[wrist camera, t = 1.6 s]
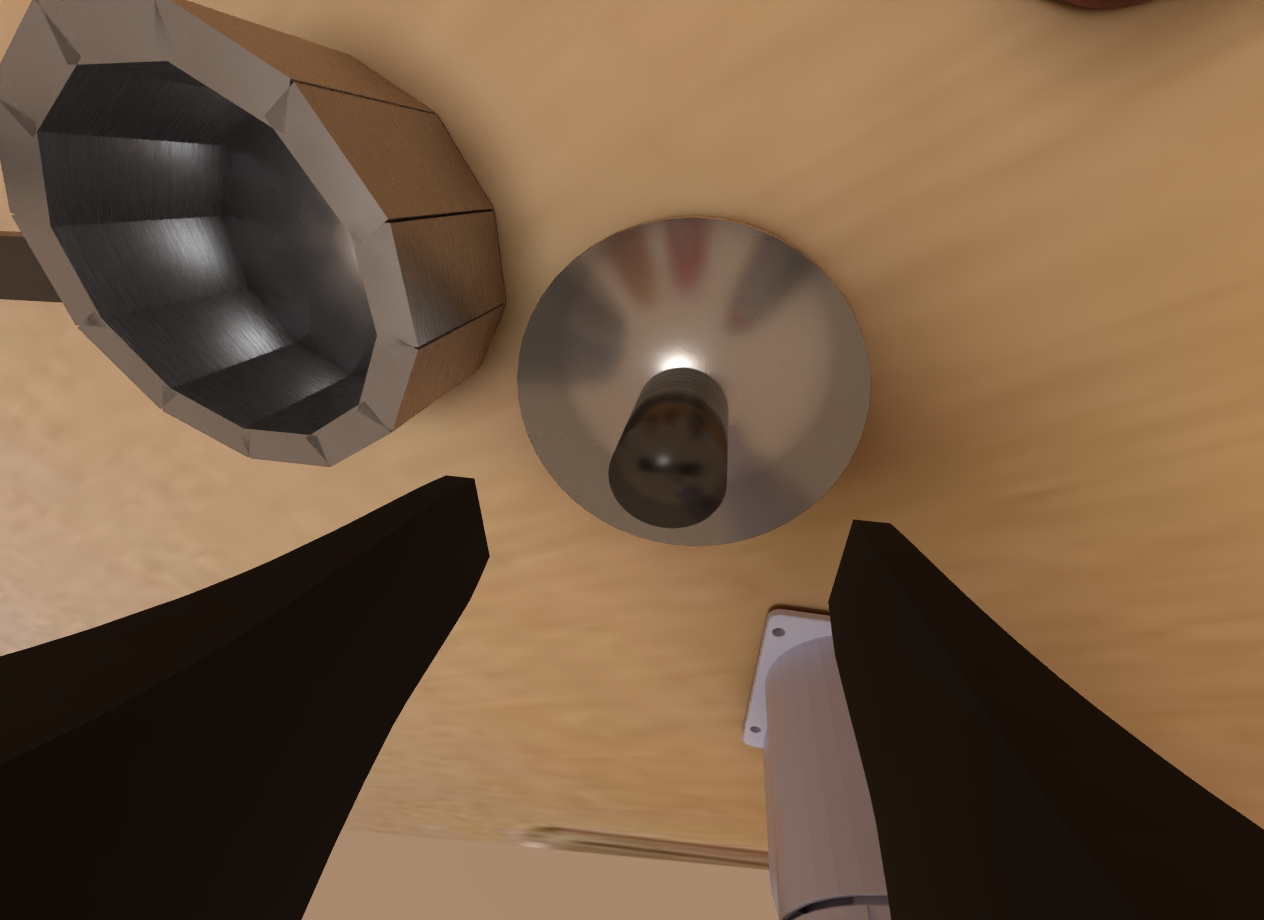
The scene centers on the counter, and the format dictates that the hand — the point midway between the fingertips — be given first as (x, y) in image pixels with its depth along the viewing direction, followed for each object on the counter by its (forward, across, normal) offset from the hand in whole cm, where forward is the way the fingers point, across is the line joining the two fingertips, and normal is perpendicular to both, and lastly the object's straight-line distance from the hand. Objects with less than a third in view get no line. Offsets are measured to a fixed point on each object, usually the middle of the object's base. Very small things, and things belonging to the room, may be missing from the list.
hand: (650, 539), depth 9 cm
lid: (+8, 0, 0) cm, 8 cm away
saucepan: (+8, +14, -4) cm, 17 cm away
